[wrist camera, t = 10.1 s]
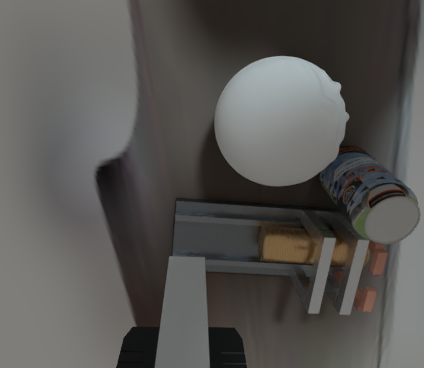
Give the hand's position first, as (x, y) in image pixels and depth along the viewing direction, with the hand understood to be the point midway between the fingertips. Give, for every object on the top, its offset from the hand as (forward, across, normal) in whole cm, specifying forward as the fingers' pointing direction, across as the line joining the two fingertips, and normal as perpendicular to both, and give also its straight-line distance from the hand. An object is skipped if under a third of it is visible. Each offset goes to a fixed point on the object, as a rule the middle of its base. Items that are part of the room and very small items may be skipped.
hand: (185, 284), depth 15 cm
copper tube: (+25, +14, -12) cm, 31 cm away
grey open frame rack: (+26, +10, -12) cm, 30 cm away
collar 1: (+26, +14, -12) cm, 32 cm away
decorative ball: (+27, +8, +4) cm, 28 cm away
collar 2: (+25, +17, -12) cm, 33 cm away
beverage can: (+27, +18, -3) cm, 32 cm away
